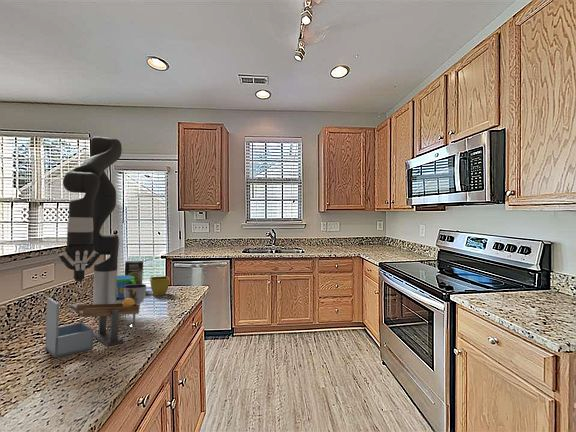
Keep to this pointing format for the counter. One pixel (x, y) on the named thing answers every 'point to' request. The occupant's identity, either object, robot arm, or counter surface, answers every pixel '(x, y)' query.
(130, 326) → the wine glass
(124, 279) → the snack cup
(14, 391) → the counter surface
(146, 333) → the counter surface
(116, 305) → the lever
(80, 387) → the counter surface
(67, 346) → the grey-blue open bin
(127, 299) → the ball
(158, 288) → the flower pot
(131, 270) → the coffee box
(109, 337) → the lever stand
